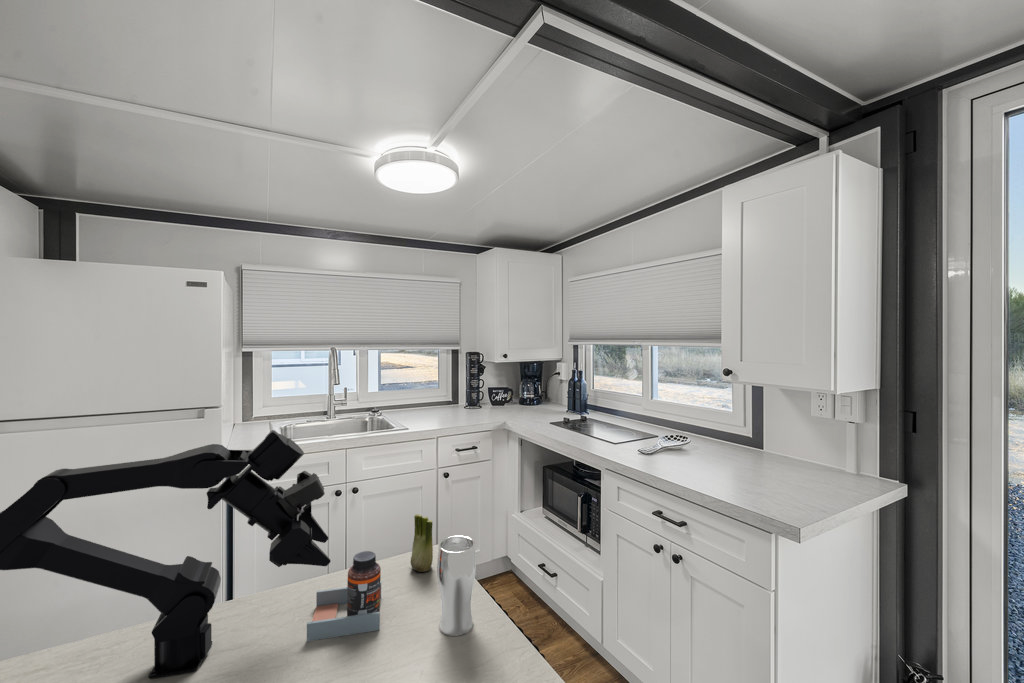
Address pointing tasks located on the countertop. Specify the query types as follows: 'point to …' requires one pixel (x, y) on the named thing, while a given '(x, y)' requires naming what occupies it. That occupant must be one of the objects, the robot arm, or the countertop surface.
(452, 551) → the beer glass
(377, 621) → the channel
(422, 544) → the fennel bulb
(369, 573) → the supplement bottle
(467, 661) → the countertop surface
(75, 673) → the countertop surface
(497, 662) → the countertop surface
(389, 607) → the countertop surface
